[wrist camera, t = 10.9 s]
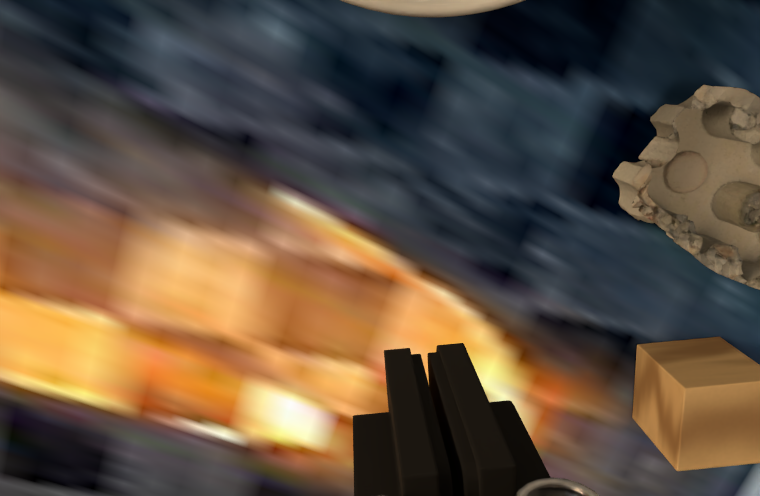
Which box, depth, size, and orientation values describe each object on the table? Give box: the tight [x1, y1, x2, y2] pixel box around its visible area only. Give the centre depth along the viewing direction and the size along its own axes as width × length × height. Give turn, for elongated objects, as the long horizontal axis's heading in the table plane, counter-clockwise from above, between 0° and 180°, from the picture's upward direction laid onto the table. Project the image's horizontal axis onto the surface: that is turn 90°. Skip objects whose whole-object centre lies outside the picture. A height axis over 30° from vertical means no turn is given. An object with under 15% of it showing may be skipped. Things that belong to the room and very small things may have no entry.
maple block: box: [632, 337, 760, 471], centre depth 32 cm, size 5×5×5 cm
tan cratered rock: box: [613, 85, 760, 290], centre depth 29 cm, size 11×8×4 cm
